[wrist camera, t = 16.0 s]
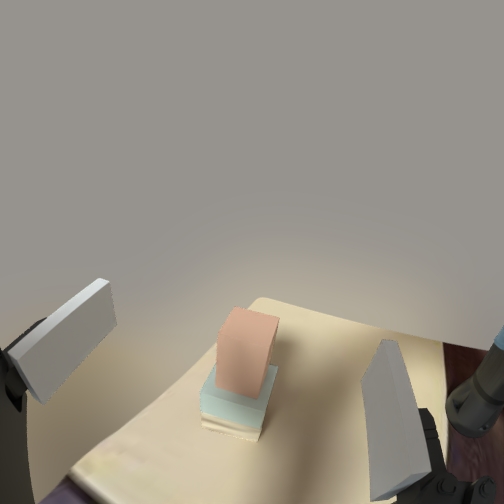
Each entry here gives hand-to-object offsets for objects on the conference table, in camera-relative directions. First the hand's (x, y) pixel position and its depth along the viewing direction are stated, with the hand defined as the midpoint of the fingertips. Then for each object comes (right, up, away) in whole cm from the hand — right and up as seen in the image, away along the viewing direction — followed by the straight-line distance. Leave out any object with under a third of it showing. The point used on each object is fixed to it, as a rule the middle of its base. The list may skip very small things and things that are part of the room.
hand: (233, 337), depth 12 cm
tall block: (-1, -14, +24) cm, 28 cm away
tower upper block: (-1, -19, +26) cm, 32 cm away
